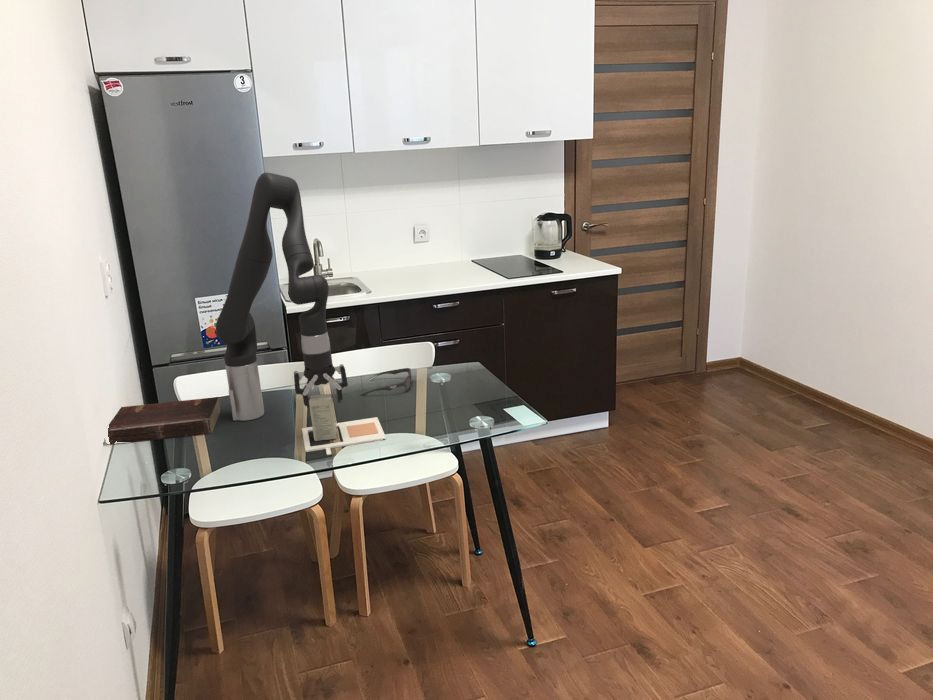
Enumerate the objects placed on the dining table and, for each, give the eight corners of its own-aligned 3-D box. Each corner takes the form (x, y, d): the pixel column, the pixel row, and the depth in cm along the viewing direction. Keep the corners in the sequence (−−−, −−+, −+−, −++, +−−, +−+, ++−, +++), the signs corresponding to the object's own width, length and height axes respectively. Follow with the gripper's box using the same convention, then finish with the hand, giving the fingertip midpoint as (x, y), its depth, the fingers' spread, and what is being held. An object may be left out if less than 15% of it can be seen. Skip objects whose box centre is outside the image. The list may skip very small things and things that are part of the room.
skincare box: (337, 433, 212) (333, 393, 208) (336, 439, 208) (332, 398, 204) (314, 434, 211) (310, 394, 208) (312, 441, 207) (308, 400, 204)
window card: (306, 458, 197) (306, 455, 197) (302, 429, 215) (301, 427, 215) (388, 445, 202) (388, 442, 202) (377, 418, 221) (377, 416, 220)
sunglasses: (410, 395, 238) (407, 381, 237) (359, 403, 240) (356, 388, 238) (415, 378, 254) (412, 364, 253) (367, 385, 255) (364, 371, 254)
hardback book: (106, 446, 212) (103, 430, 211) (124, 422, 230) (121, 407, 228) (211, 435, 216) (208, 419, 215) (221, 411, 234) (218, 396, 233)
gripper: (290, 356, 197) (298, 413, 202) (344, 348, 200) (351, 404, 205) (288, 348, 204) (296, 404, 209) (340, 341, 207) (347, 395, 212)
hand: (323, 404), depth 207 cm, fingers open, 8 cm apart
